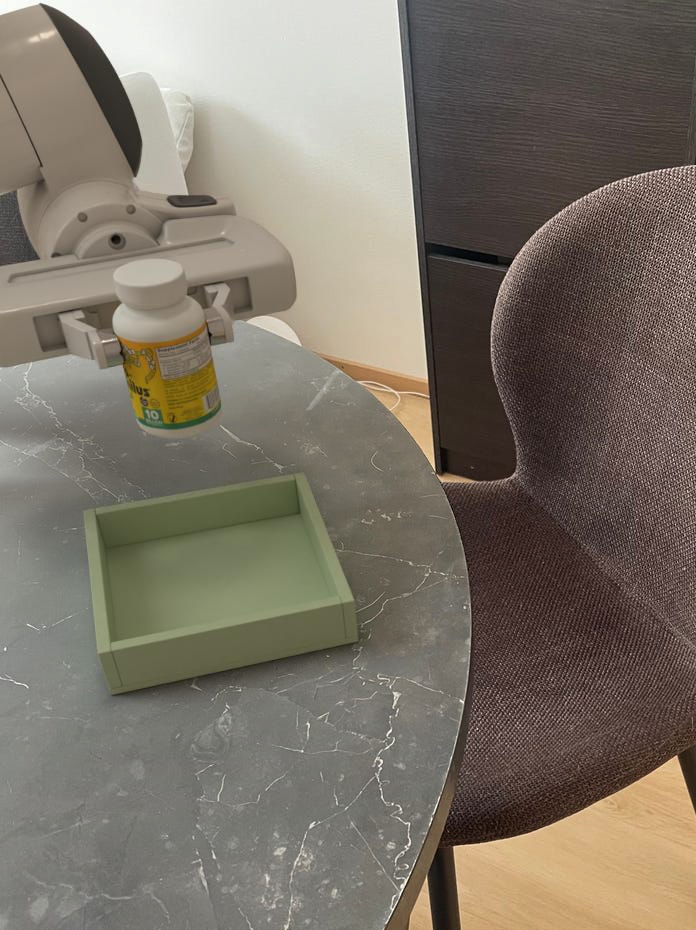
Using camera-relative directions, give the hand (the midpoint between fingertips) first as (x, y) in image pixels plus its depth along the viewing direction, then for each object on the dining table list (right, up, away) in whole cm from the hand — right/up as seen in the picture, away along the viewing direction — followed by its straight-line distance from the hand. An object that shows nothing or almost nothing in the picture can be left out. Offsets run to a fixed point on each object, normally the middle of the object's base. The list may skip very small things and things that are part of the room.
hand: (167, 344), depth 62 cm
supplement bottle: (-1, -4, +4) cm, 6 cm away
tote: (+1, -14, +9) cm, 17 cm away
